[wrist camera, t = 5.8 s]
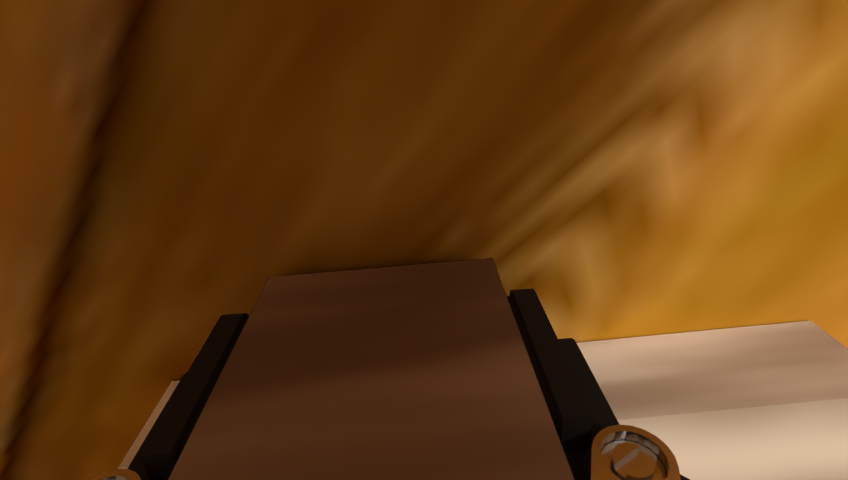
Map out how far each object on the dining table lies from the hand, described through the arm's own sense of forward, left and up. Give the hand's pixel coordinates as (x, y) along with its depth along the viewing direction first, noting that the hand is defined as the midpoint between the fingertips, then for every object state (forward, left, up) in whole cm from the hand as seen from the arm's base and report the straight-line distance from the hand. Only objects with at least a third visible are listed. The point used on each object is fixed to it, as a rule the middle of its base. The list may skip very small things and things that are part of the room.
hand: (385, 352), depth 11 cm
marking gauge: (+4, 0, -2) cm, 4 cm away
